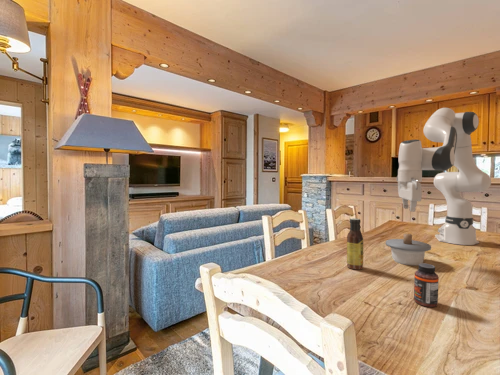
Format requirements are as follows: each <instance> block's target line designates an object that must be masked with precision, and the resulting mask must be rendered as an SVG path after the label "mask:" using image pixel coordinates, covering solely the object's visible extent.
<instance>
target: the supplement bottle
mask: <svg viewBox="0 0 500 375" xmlns="http://www.w3.org/2000/svg"><path fill="white" fill-rule="evenodd" d="M435 271H436V267H435V265H433V264H429V263H425V262H423V263H421V264H419V265H418V269H417V270H415V272H414V280H413V281H414V282H413V283H414V285H413V301H414V302H415V303H416V304H418V305H419V306H422V307H427V308H434V307H437V306H438V302H439V279H440V278H439V275H438V274H437V273H436V272H435Z"/></svg>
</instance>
